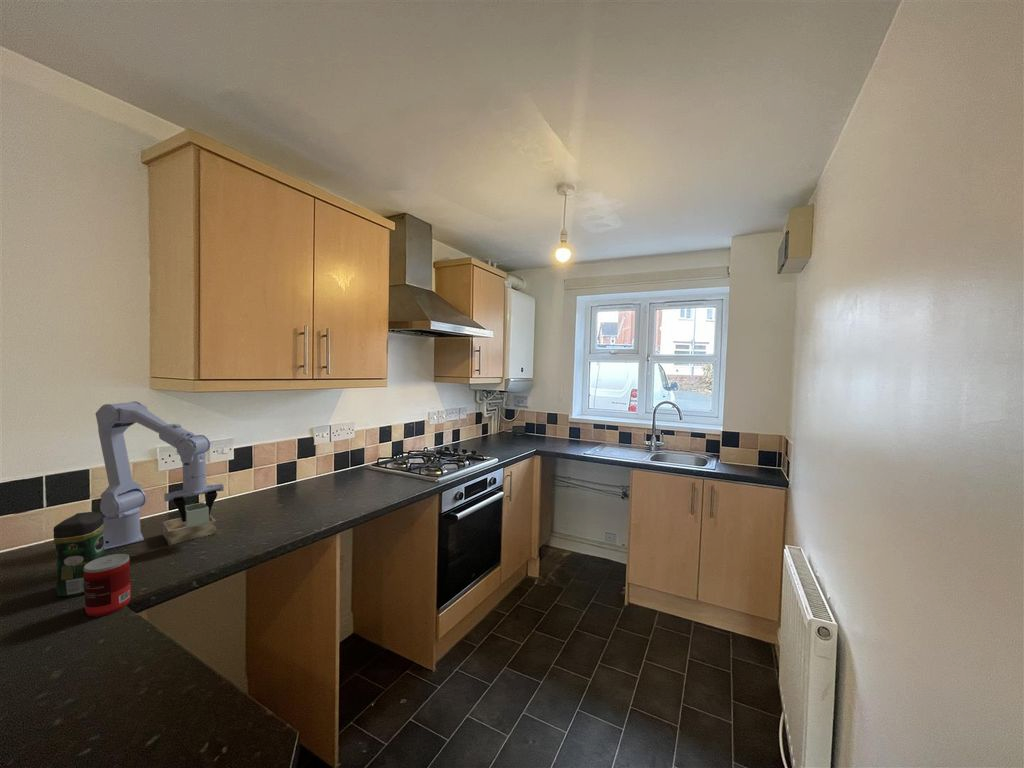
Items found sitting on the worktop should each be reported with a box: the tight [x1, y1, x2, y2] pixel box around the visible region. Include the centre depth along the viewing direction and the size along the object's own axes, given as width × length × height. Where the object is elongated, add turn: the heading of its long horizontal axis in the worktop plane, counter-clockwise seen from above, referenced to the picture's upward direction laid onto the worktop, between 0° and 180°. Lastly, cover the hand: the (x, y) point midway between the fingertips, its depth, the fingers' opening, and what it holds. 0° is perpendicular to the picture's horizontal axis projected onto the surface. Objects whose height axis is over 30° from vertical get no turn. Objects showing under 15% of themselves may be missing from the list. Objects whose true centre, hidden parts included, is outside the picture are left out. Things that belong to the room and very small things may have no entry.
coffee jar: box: [53, 511, 106, 597], centre depth 103 cm, size 10×8×19 cm
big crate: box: [162, 514, 217, 546], centre depth 136 cm, size 12×11×4 cm
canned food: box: [83, 553, 132, 617], centre depth 96 cm, size 8×8×11 cm
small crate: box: [183, 501, 209, 528], centre depth 128 cm, size 5×7×5 cm
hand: (195, 518), depth 128 cm, fingers closed on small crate, 5 cm apart
